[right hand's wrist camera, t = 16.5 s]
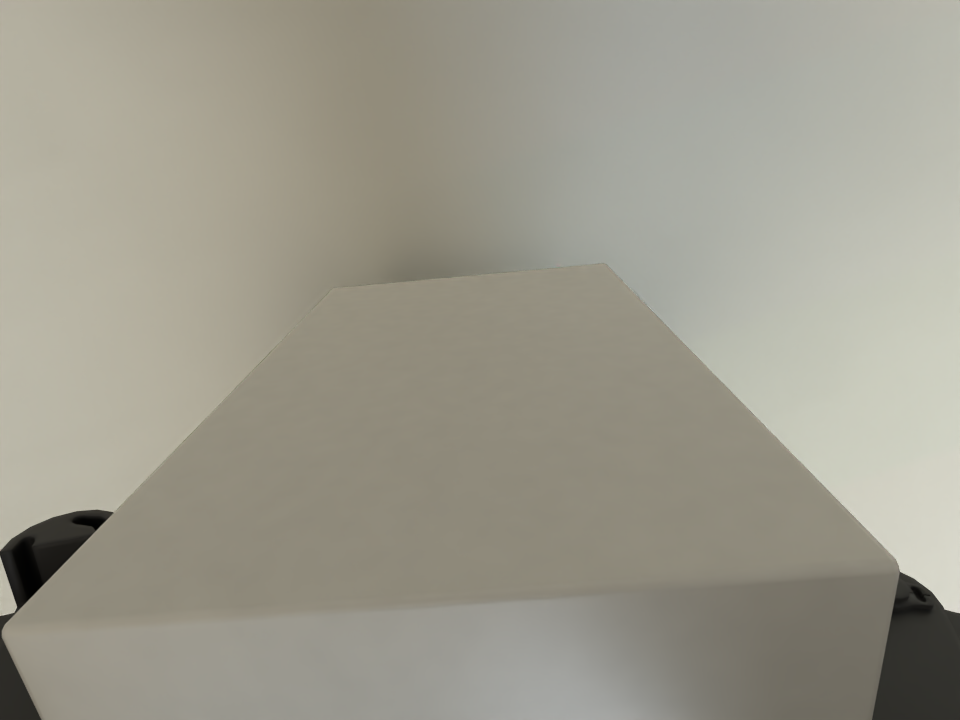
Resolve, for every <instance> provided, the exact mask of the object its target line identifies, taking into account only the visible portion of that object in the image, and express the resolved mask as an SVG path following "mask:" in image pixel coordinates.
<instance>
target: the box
mask: <svg viewBox="0 0 960 720" xmlns="http://www.w3.org/2000/svg"><path fill="white" fill-rule="evenodd" d="M899 574H900V570H899V566H898V563H897V561H896V559H895V558H894V557H893V556H892V555H891V554H890V553H889V552H888V551H887V550H886V549H885V548H884V547H883V546H882V545H881V544H880V543H879V542H878V541H877V540H876V539H875V538H874V537H873V536H872V535H871V534H870V533H869V532H868V531H867V529H866V528H865V527H864V526H863V525H862V524H861V523H860V522H859V521H858V520H857V519H856V518H855V517H854V516H853V515H852V514H851V513H850V512H849V511H848V510H847V509H846V508H845V507H844V506H843V505H842V504H841V503H840V502H839V501H838V500H837V499H836V498H835V497H834V496H833V495H832V494H831V493H830V492H829V491H828V490H827V489H826V488H825V487H824V486H823V485H822V484H821V483H820V482H819V481H818V480H817V479H816V478H815V477H814V476H813V474H812V473H811V472H810V471H809V470H808V469H807V468H806V467H805V466H804V465H803V464H802V463H801V462H800V461H799V460H798V459H797V458H796V457H795V456H794V455H793V454H792V453H791V452H790V451H789V450H788V449H787V448H786V447H785V446H784V445H783V444H782V443H781V442H780V441H779V440H778V439H777V438H776V437H775V436H774V435H773V434H772V433H771V432H770V431H769V430H768V429H767V428H766V427H765V426H764V425H763V424H762V423H761V422H760V421H759V419H758V418H757V417H756V416H755V415H754V414H753V413H752V412H751V411H750V410H749V409H748V408H747V407H746V406H745V405H744V404H743V403H742V402H741V401H740V400H739V399H738V398H737V397H736V396H735V395H734V394H733V393H732V392H731V391H730V390H729V389H728V388H727V387H726V386H725V385H724V384H723V383H722V382H721V381H720V380H719V379H718V378H717V377H716V376H715V375H714V374H713V373H712V372H711V371H710V370H709V369H708V368H707V367H706V366H705V364H704V363H703V362H702V361H701V360H700V359H699V358H698V357H697V356H696V355H695V354H694V353H693V352H692V351H691V350H690V349H689V348H688V347H687V346H686V345H685V344H684V343H683V342H682V341H681V340H680V339H679V338H678V337H677V336H676V335H675V334H674V333H673V332H672V331H671V330H670V329H669V328H668V327H667V326H666V325H665V324H664V323H663V322H662V321H661V320H660V319H659V318H658V317H657V316H656V315H655V314H654V313H653V312H652V311H651V309H650V308H649V307H648V306H647V305H646V304H645V303H644V302H643V301H642V300H641V299H640V298H639V297H638V296H637V295H636V294H635V293H634V292H633V291H632V290H631V289H630V288H629V287H628V286H627V285H626V284H625V283H624V282H623V281H622V280H621V279H620V278H619V277H618V276H617V275H616V274H615V273H614V272H613V271H612V270H611V269H610V268H609V267H608V266H607V265H606V264H604V263H602V264H591V265H580V266H569V267H558V268H547V269H536V270H525V271H514V272H503V273H492V274H481V275H471V276H460V277H449V278H438V279H427V280H416V281H405V282H394V283H383V284H372V285H361V286H350V287H339V288H333V289H332V290H331V291H330V292H329V293H328V294H327V295H326V296H325V297H324V298H323V299H322V300H321V301H320V302H319V303H318V304H317V305H316V306H315V307H314V308H313V309H312V310H311V311H310V312H309V313H308V314H307V315H306V316H305V317H304V318H303V319H302V320H301V321H300V322H299V323H298V324H297V326H296V327H295V328H294V329H293V330H292V331H291V332H290V333H289V334H288V335H287V336H286V337H285V338H284V339H283V340H282V341H281V342H280V343H279V344H278V345H277V346H276V347H275V348H274V349H273V350H272V351H271V352H270V353H269V354H268V355H267V356H266V357H265V358H264V359H263V360H262V361H261V362H260V363H259V364H258V365H257V367H256V368H255V369H254V370H253V371H252V372H251V373H250V374H249V375H248V376H247V377H246V378H245V379H244V380H243V381H242V382H241V383H240V384H239V385H238V386H237V387H236V388H235V389H234V390H233V391H232V392H231V393H230V394H229V395H228V396H227V397H226V398H225V399H224V400H223V401H222V402H221V403H220V404H219V405H218V407H217V408H216V409H215V410H214V411H213V412H212V413H211V414H210V415H209V416H208V417H207V418H206V419H205V420H204V421H203V422H202V423H201V424H200V425H199V426H198V427H197V428H196V429H195V430H194V431H193V432H192V433H191V434H190V435H189V436H188V437H187V438H186V439H185V440H184V441H183V442H182V443H181V444H180V445H179V446H178V448H177V449H176V450H175V451H174V452H173V453H172V454H171V455H170V456H169V457H168V458H167V459H166V460H165V461H164V462H163V463H162V464H161V465H160V466H159V467H158V468H157V469H156V470H155V471H154V472H153V473H152V474H151V475H150V476H149V477H148V478H147V479H146V480H145V481H144V482H143V483H142V484H141V485H140V486H139V488H138V489H137V490H136V491H135V492H134V493H133V494H132V495H131V496H130V497H129V498H128V499H127V500H126V501H125V502H124V503H123V504H122V505H121V506H120V507H119V508H118V509H117V510H116V511H115V512H114V513H113V514H112V515H111V516H110V517H109V518H108V519H107V520H106V521H105V522H104V523H103V524H102V525H101V526H100V528H99V529H98V530H97V531H96V532H95V533H94V534H93V535H92V536H91V537H90V538H89V539H88V540H87V541H86V542H85V543H84V544H83V545H82V546H81V547H80V548H79V549H78V550H77V551H76V552H75V553H74V554H73V555H72V556H71V557H70V558H69V559H68V560H67V561H66V562H65V563H64V564H63V565H62V566H61V567H60V569H59V570H58V571H57V572H56V573H55V574H54V575H53V576H52V577H51V578H50V579H49V580H48V581H47V582H46V583H45V584H44V585H43V586H42V587H41V588H40V589H39V590H38V591H37V592H36V593H35V594H34V595H33V596H32V597H31V598H30V599H29V600H28V601H27V602H26V603H25V604H24V605H23V606H22V607H21V609H20V610H19V611H18V612H17V613H16V614H15V615H14V616H13V617H12V618H11V619H10V620H9V621H8V622H7V623H6V624H5V625H4V627H3V629H2V639H3V641H4V643H5V645H6V647H7V649H8V651H9V653H10V655H11V657H12V660H13V662H14V664H15V666H16V668H17V670H18V672H19V674H20V676H21V678H22V680H23V682H24V684H25V687H26V689H27V691H28V693H29V695H30V697H31V699H32V701H33V703H34V705H35V707H36V709H37V711H38V714H39V716H40V718H41V720H872V717H873V711H874V706H875V701H876V696H877V690H878V685H879V680H880V674H881V669H882V664H883V658H884V653H885V648H886V643H887V637H888V632H889V627H890V621H891V616H892V611H893V605H894V600H895V595H896V590H897V584H898V579H899Z"/></svg>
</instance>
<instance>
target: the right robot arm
mask: <svg viewBox="0 0 960 720" xmlns="http://www.w3.org/2000/svg"><path fill="white" fill-rule="evenodd" d="M112 514H113V512H108V511H102V510H88V511H76V512H72V513H68V514H65V515H61V516H57V517H53V518H51V519H48V520H46V521H43V522H41V523H39V524H36V525H34V526H32V527H30V528H28V529H27V530H25V531H23V532H22V533H20V534H19V535H17V536H16V537H14V538H12V539H11V540H10V541H9V542H8V543H7V544H6V546H5V547H4V548H3V549H2V550H1V551H0V557H1V560H2V563H3V565H4V568H5V571H6V574H7V577H8V580H9V583H10V586H11V589H12V592H13V595H14V598H15V601H16V604H17V609H16V611H15V613H12V614H8V615H4V616H0V720H41V718H40V716H39V714H38V711H37V709H36V707H35V705H34V703H33V701H32V699H31V697H30V695H29V693H28V691H27V689H26V687H25V684H24V682H23V680H22V678H21V676H20V674H19V672H18V670H17V668H16V666H15V664H14V662H13V660H12V657H11V655H10V653H9V651H8V649H7V647H6V645H5V643H4V641H3V639H2V629H3V627H4V625H5V624H6V623H7V622H8V621H9V620H10V619H11V618H12V617H13V616H14V615H15V614H16V613H17V612H18V611H19V610H20V609H21V607H22V606H23V605H24V604H25V603H26V602H27V601H28V600H29V599H30V598H31V597H32V596H33V595H34V594H35V593H36V592H37V591H38V590H39V589H40V588H41V587H42V586H43V585H44V584H45V583H46V582H47V581H48V580H49V579H50V578H51V577H52V576H53V575H54V574H55V573H56V572H57V571H58V570H59V569H60V567H61V566H62V565H63V564H64V563H65V562H66V561H67V560H68V559H69V558H70V557H71V556H72V555H73V554H74V553H75V552H76V551H77V550H78V549H79V548H80V547H81V546H82V545H83V544H84V543H85V542H86V541H87V540H88V539H89V538H90V537H91V536H92V535H93V534H94V533H95V532H96V531H97V530H98V529H99V528H100V526H101V525H102V524H103V523H104V522H105V521H106V520H107V519H108V518H109V517H110V516H111V515H112ZM872 720H960V613H955V612H951V611H948V610H944V608H943V606H942V605H941V603H940V602H939V601H938V600H937V598H936V597H935V596H934V594H933V593H932V592H931V591H930V590H928V589H927V588H926V587H924V586H923V585H922V584H920V583H919V582H918V581H916V580H915V579H913V578H911V577H909V576H907V575H905V574H903V573H901V572H900V574H899V579H898V584H897V590H896V595H895V600H894V605H893V611H892V616H891V621H890V627H889V632H888V637H887V643H886V648H885V653H884V658H883V664H882V669H881V674H880V680H879V685H878V690H877V696H876V701H875V706H874V711H873V717H872Z"/></svg>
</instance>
